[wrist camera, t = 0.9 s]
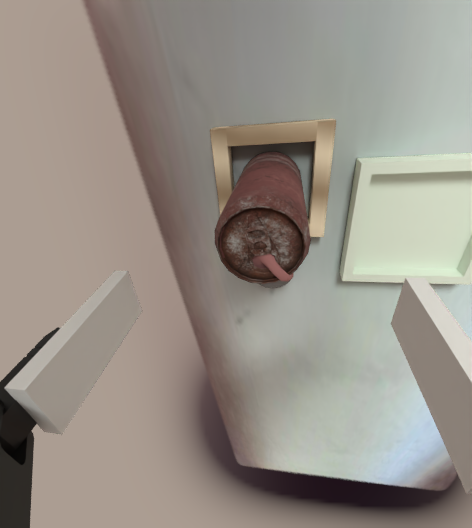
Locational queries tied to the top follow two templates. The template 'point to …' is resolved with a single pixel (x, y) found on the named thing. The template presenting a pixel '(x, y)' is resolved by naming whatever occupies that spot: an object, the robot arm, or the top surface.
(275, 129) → the collar block
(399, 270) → the tray
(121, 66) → the top surface
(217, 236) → the can
